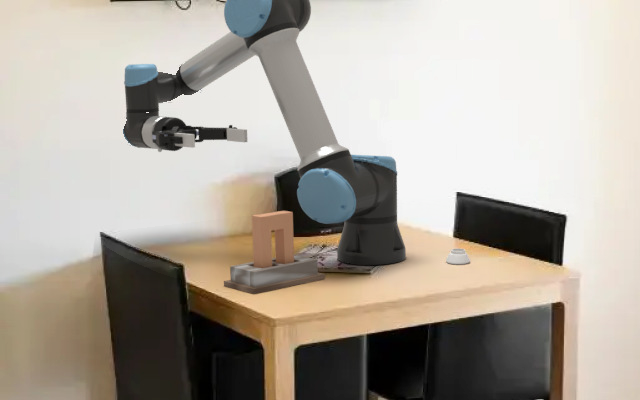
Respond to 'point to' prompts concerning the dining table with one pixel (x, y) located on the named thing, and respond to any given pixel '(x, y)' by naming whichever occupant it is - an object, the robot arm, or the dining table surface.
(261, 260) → the tan arch block
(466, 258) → the grey bowl
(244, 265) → the grey socket block
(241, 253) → the dining table surface
